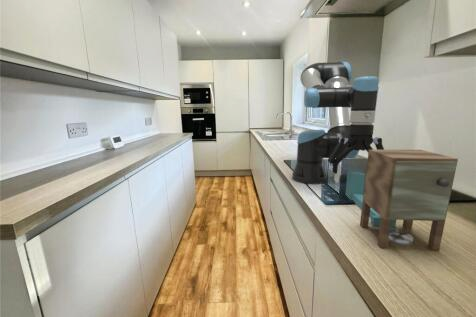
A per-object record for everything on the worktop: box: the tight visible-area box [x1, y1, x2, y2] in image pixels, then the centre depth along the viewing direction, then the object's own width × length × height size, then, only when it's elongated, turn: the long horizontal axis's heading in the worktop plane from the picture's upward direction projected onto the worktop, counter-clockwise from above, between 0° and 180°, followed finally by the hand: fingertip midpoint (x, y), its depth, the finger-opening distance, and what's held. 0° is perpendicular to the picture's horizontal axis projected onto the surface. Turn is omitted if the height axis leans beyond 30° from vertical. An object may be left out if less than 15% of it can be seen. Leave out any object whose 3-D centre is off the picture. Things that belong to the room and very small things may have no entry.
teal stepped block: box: [344, 170, 397, 228], centre depth 73 cm, size 23×6×10 cm, turn 175°
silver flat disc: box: [388, 227, 414, 247], centre depth 57 cm, size 6×6×2 cm
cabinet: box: [359, 149, 459, 252], centre depth 54 cm, size 13×13×22 cm
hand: (355, 182), depth 81 cm, fingers open, 13 cm apart
